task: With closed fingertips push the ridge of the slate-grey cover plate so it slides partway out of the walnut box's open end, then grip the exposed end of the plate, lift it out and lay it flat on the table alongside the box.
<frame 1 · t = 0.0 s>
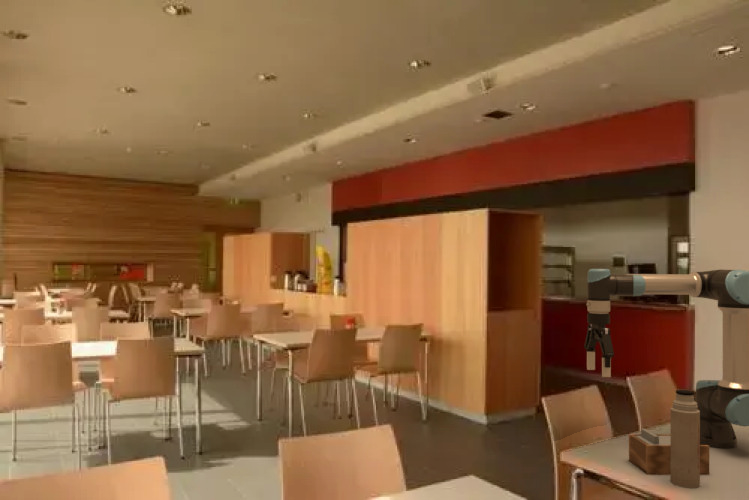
hand: (598, 373, 214), 28 cm above the table, fingers open, 13 cm apart
slate lid: (666, 444, 200), point 7 cm above the table, touching walnut box
thermos bottle: (684, 483, 185), on the table
walnut box: (667, 467, 199), on the table
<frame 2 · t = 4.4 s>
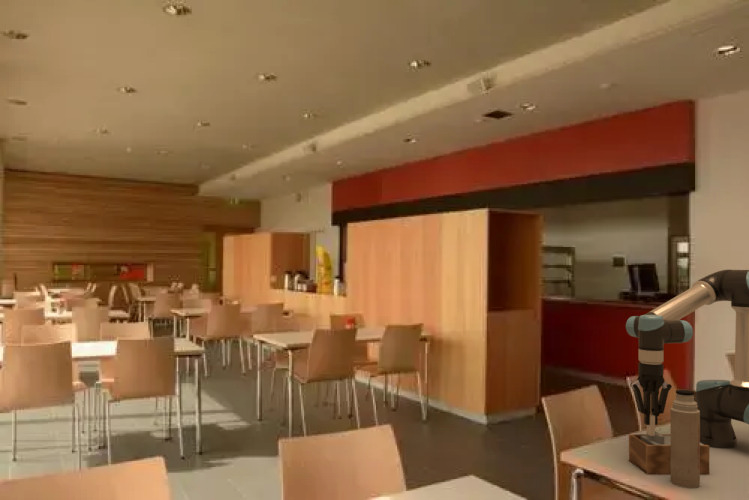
hand: (650, 434, 200), 11 cm above the table, fingers closed
slate lid: (671, 444, 200), point 7 cm above the table, touching gripper, walnut box
everything else where it was.
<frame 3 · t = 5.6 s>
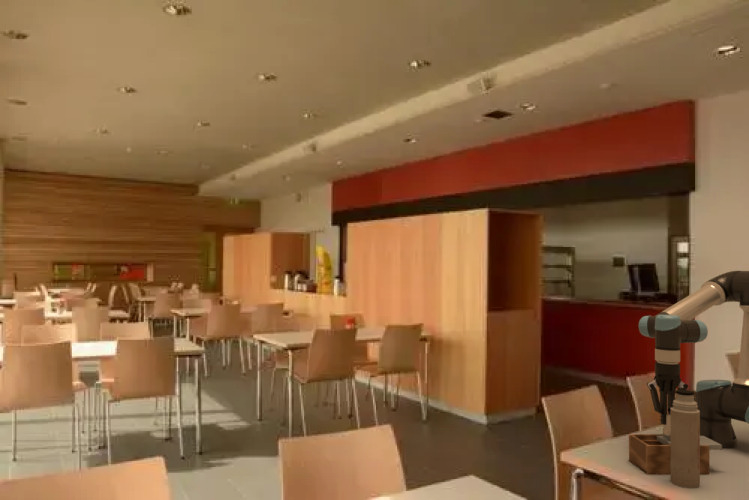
hand: (667, 434, 200), 11 cm above the table, fingers closed
slate lid: (688, 444, 200), point 7 cm above the table, touching walnut box
everything else where it was.
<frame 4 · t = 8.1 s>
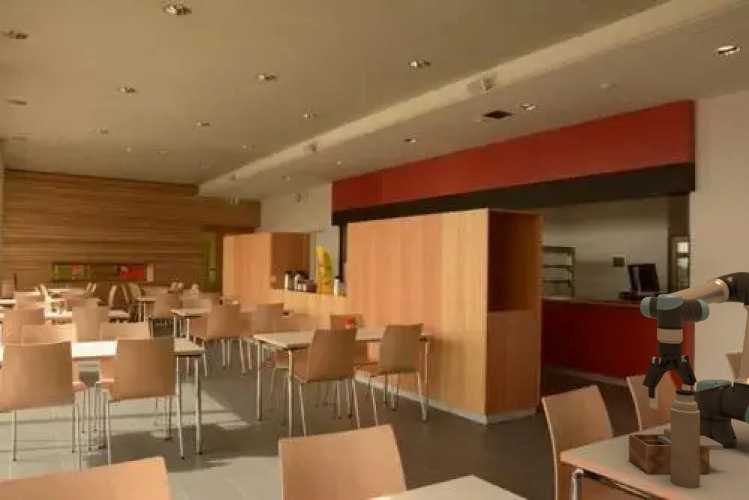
hand: (670, 406, 200), 20 cm above the table, fingers open, 13 cm apart
nothing on the table moved.
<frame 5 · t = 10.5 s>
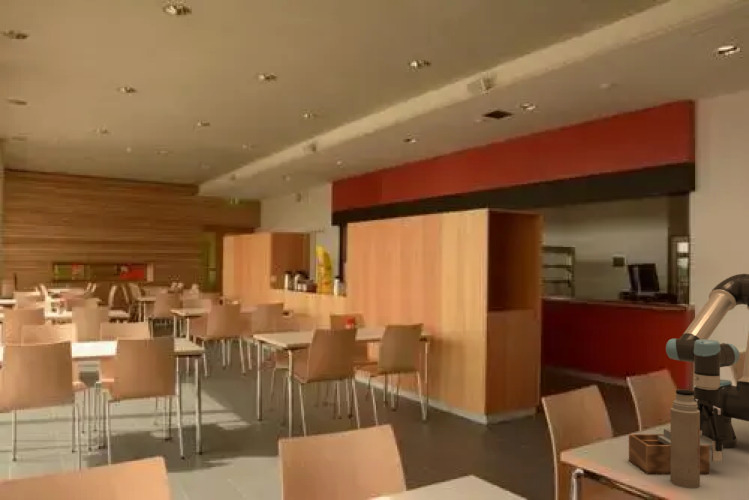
hand: (706, 455, 200), 4 cm above the table, fingers closed on slate lid, 10 cm apart
slate lid: (689, 444, 200), point 7 cm above the table, touching gripper, walnut box
everything else where it was.
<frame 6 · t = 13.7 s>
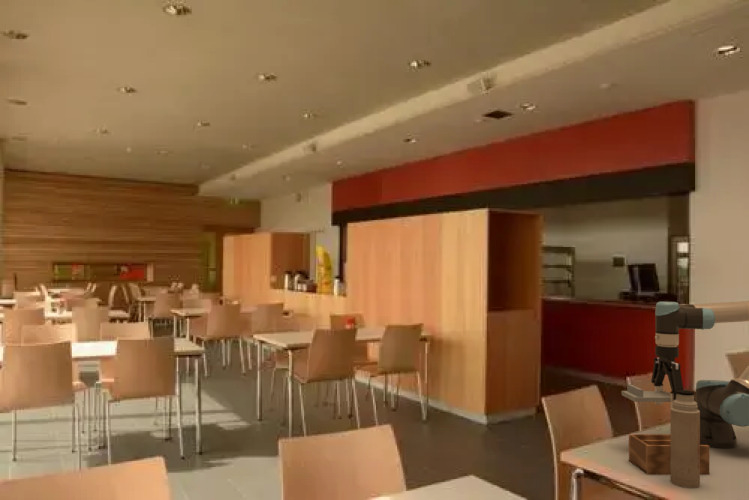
hand: (666, 408, 216), 16 cm above the table, fingers closed on slate lid, 10 cm apart
slate lid: (650, 398, 216), point 19 cm above the table, touching gripper
everything else where it was.
when the fingers open (0 cm above the table, at t = 17.1 s): slate lid drops 4 cm, on the table.
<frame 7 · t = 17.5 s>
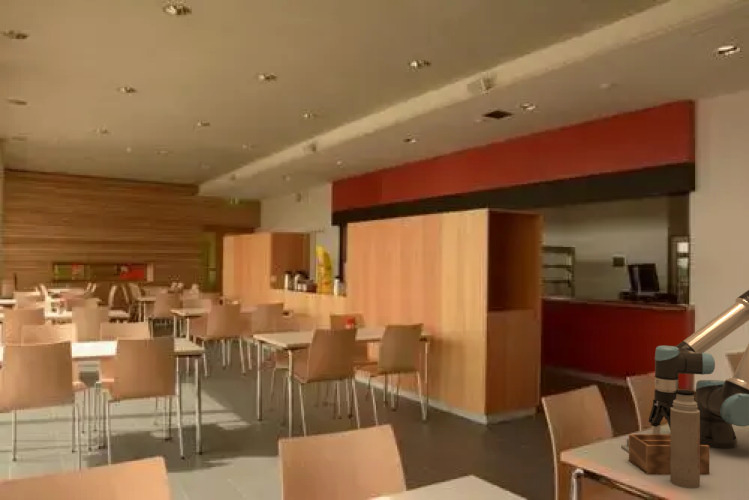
hand: (665, 450, 216), 0 cm above the table, fingers open, 13 cm apart
slate lid: (649, 453, 215), on the table
everything else where it was.
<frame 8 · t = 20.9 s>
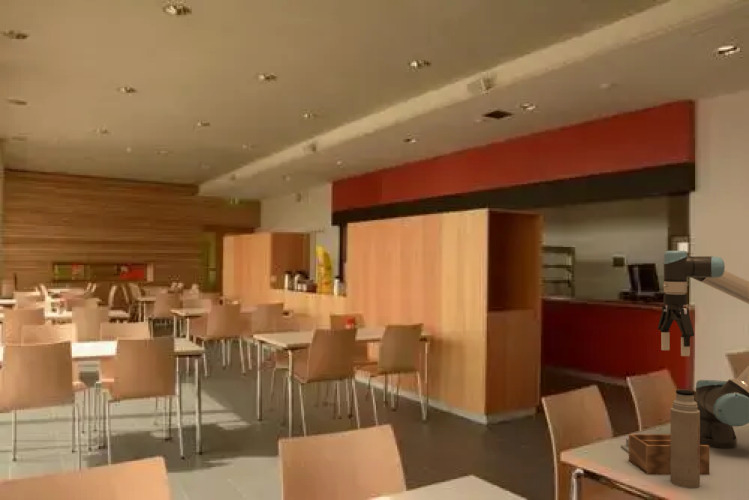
hand: (675, 353, 218), 35 cm above the table, fingers open, 13 cm apart
nothing on the table moved.
at the end: slate lid inside the target area (0.3 cm from its centre), on the table; slate lid tilted 0°; slate lid touching table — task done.
